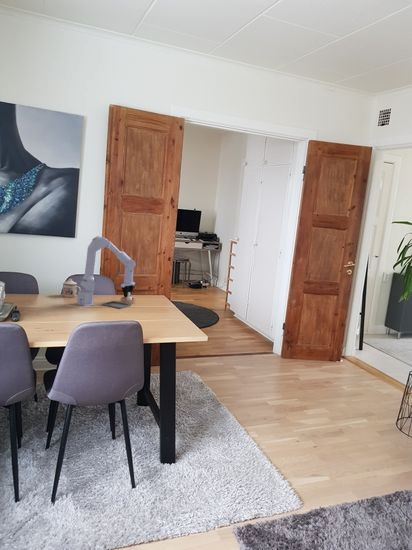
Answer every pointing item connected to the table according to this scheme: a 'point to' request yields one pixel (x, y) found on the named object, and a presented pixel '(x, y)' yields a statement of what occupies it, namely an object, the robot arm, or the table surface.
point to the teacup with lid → (70, 288)
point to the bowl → (128, 300)
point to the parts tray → (116, 304)
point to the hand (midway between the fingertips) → (127, 296)
